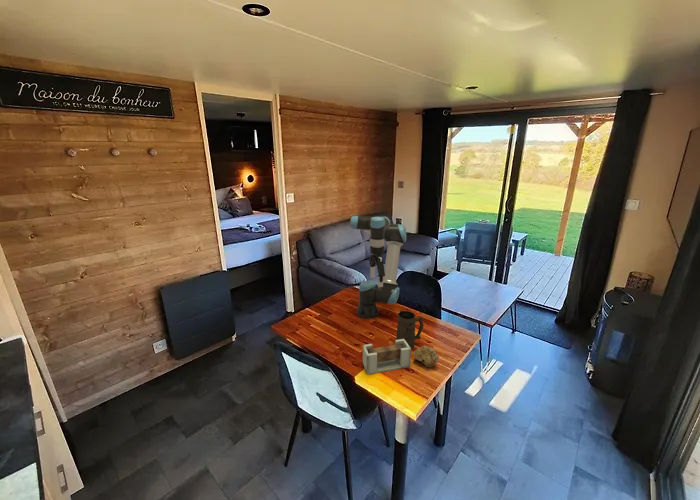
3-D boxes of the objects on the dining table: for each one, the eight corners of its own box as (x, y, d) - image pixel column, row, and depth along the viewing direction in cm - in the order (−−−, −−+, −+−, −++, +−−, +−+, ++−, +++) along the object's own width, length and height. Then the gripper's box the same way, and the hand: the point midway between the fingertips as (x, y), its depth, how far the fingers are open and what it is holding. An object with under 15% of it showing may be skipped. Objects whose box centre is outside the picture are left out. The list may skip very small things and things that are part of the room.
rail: (370, 363, 151) (370, 353, 149) (368, 359, 154) (368, 349, 153) (403, 358, 155) (404, 348, 153) (400, 353, 158) (401, 343, 157)
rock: (433, 357, 162) (434, 341, 159) (439, 370, 152) (440, 353, 149) (411, 357, 161) (412, 341, 158) (415, 370, 151) (416, 354, 148)
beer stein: (399, 352, 166) (402, 320, 160) (391, 341, 176) (394, 310, 170) (423, 349, 170) (428, 317, 164) (414, 338, 180) (419, 308, 174)
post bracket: (362, 363, 158) (362, 345, 154) (403, 356, 163) (404, 338, 159) (367, 374, 149) (367, 355, 146) (410, 367, 154) (411, 348, 151)
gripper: (364, 240, 172) (363, 274, 178) (377, 253, 149) (377, 291, 155) (376, 239, 174) (375, 273, 180) (392, 252, 151) (390, 290, 157)
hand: (376, 282), depth 168 cm, fingers open, 13 cm apart
